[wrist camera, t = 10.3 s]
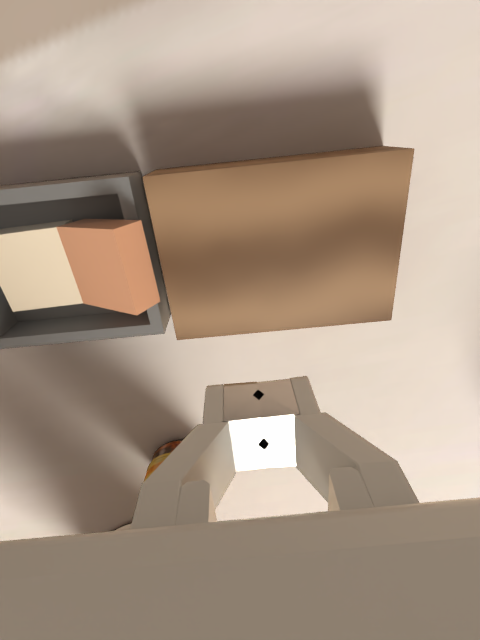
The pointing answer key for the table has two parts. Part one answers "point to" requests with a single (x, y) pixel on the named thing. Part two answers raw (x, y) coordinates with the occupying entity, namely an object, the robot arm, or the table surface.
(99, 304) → the peach rectangular prism
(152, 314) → the charcoal tray
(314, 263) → the walnut board
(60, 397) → the table surface
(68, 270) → the cream block
